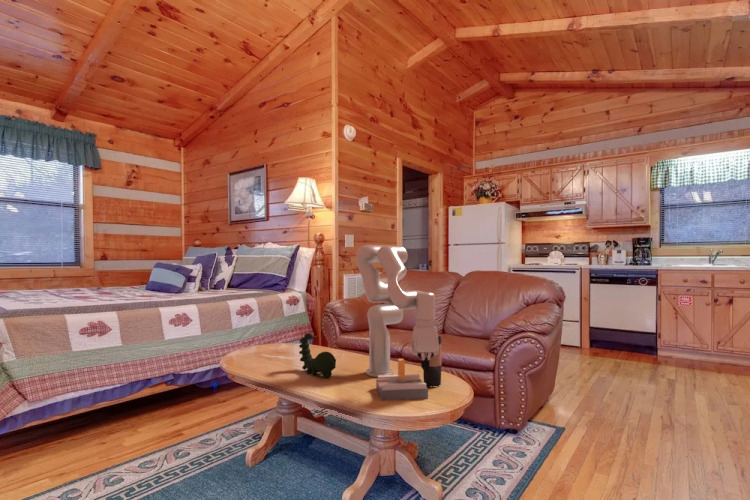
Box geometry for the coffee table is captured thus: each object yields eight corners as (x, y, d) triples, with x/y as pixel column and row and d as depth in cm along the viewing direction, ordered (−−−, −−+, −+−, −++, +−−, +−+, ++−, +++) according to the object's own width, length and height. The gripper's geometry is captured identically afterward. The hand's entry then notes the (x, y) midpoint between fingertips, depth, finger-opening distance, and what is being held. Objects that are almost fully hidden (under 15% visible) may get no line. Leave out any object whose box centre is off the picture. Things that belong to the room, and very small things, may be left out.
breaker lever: (397, 381, 160) (397, 358, 160) (403, 381, 160) (403, 358, 160) (399, 385, 156) (399, 361, 156) (405, 385, 156) (405, 361, 156)
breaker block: (376, 388, 164) (376, 375, 164) (419, 386, 166) (419, 373, 166) (381, 400, 150) (381, 386, 150) (428, 398, 152) (428, 384, 152)
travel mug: (439, 381, 173) (439, 335, 173) (443, 387, 165) (443, 338, 165) (421, 381, 172) (422, 335, 173) (424, 387, 165) (424, 338, 165)
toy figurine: (295, 374, 187) (328, 381, 170) (293, 333, 189) (326, 336, 171) (311, 370, 194) (345, 377, 176) (310, 331, 195) (343, 333, 178)
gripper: (440, 321, 164) (440, 366, 164) (405, 322, 162) (404, 367, 162) (446, 324, 157) (446, 371, 156) (409, 325, 155) (408, 372, 155)
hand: (425, 369), depth 159 cm, fingers closed
